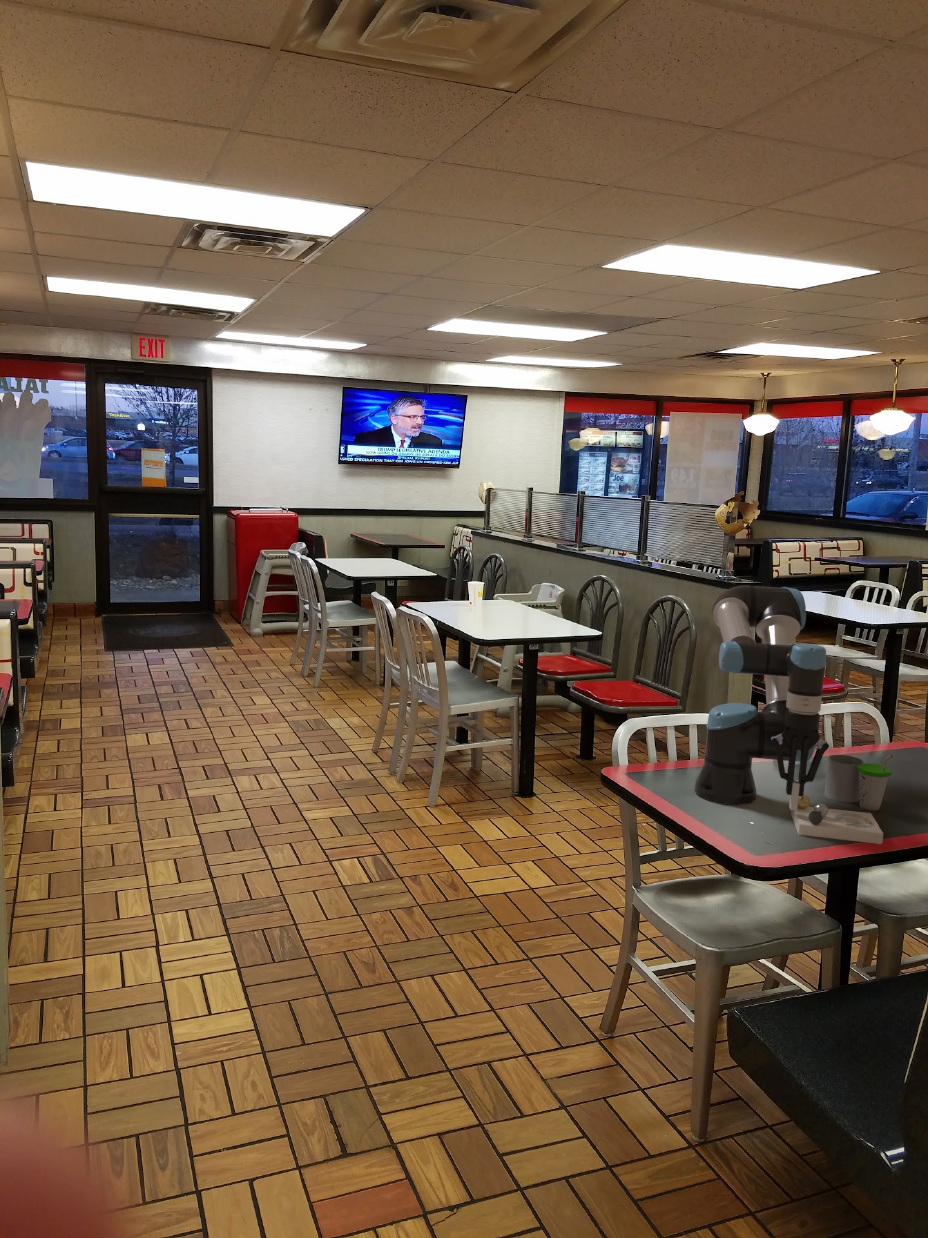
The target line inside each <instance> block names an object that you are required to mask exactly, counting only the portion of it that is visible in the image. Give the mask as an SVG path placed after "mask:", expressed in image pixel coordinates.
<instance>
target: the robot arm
mask: <svg viewBox="0 0 928 1238" xmlns="http://www.w3.org/2000/svg"><path fill="white" fill-rule="evenodd" d="M806 607H807V606H806V600H805V598H804V594H803V593H802V592H801V591H800V590H799V589H797V588H791V587H790V588H789V587H787V586H782V587H775V586H761V585H759V586H758V585H748V584H747V585H746V584H745V585H744V584H743V585H738V586H733V587H730V588H728V589H727V590H725V591H723V592H722V593H721V594H720V595H719V596H718V597H716V599H715V601H714V603H713V606H712V610H711V613H712V619H713V622H714V623H715V625H716V626H717V627H719V630H720V634H721V636H722V637H721V638H722V641H723V642H721V644H720V647H719V653H718V664H719V665H718V666H719V670H721V671H722V672H726V673H733V674H745V675H746V674H749V675H760V676H761V675H762V676H763V675H764V681H765V682H764V684H765V698H766V699H765V700H766V704H765V705H763V706H762V708H761V711H758V709H757V707H756V706H755V705H753V704H750V703H749V704H748V703H744V702H743V703H742V702H741V703H739V702H734V703H733V702H732V703H731V702H730V703H723V704H722V703H721V704H719V705H716V706H714V707H712V708H711V709H710V710H709V713H708V716H707V723H706V736H705V737H706V739H705V748H704V749H705V750H704V759H703V765H702V766H701V767H700V768H701V769H700V771H699V773H698V775H697V778H696V779H695V783H694V792H696V793H695V794H696V795H697V796H699V797H701V798H703V799H705V800H707V801H710V802H714V803H719V804H722V805H723V804H725V805H737V806H738V805H747V804H751V803H753V802H754V801H756V797H757V788H756V784H755V780H754V775H753V770H752V762H753V759H760V760H761V759H763V760H774V761H775V760H776V761H777V767H778V773H779V776H780V778H781V779H782V780H784V781H786V783H785V785H786V787H785V793H786V795H788V796H789V804H788V807H789V810H790V811H791V810H797V806H798V796H803V794H804V792H805V785H806V783H808V782H809V783H810V782H811V783H812V782H813V781H814V779H815V777H816V774H817V771H818V768H819V766H820V764H821V761H822V760H823V759H822V758H823V756H824V754H825V752H826V751H827V750H828V749H829V748H830V745H829V742H828V741H827V740H824V739H822V738H821V735H820V733H819V729H820V728H819V726H820V719H821V718H820V717H821V715H820V712H821V710H822V709H821V707H822V699H823V689H824V679H825V671H826V665H827V650H826V648H825V647H824V646H822V645H819V644H815V643H806V642H805V643H803V642H802V643H801V642H800V643H797V642H796V640H797V639H796V637H797V636H798V635H799V634H800V631H801V630H803V629H804V627H805V625H806V620H807V612H806V611H807V608H806ZM752 628H755V633H756V635H757V636H758V637H759V638H760V639H761V640H762V643H760V642H756V639H755V636H754V634H753V633H754V632H753V630H752ZM816 746H817V748H816ZM815 750H816V751H815ZM812 757H813V758H812ZM811 759H812V761H811V763H810V767H809V769H808V771H807V767H808V762H809V761H810V760H811ZM784 761H785V762H787V763H788V764H787V771H786V770H785V769H786V768H785V764H784ZM796 762H799V770H798V779H794V777H795V769H796ZM804 795H805V794H804Z"/></svg>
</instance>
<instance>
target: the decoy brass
mask: <svg viewBox="0 0 928 1238" xmlns="http://www.w3.org/2000/svg"><path fill="white" fill-rule="evenodd" d="M810 804H811V801H810V798H809V797H808V795H806V794H803V796H798V807H799V808H802V809H804V808H807V807H810Z"/></svg>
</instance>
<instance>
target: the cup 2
mask: <svg viewBox="0 0 928 1238" xmlns="http://www.w3.org/2000/svg"><path fill="white" fill-rule="evenodd" d="M891 758H893V755H892V754H890V755H889V756H887V757H886V758H884V760H883V764H882V765H880V764H875V763H874V764H873V763H864V764H859V765H857V770H858V772H859V801H858V802H859V808H860V809H862V810H865V811H868V812H878V811H880V808H881V806H882V801H883V798H884V795H885V792H886V787H887V784H888V779H889V777H890V776H892V770H891V769H890V768H888V767H886V765H887V761H889V760H890V759H891Z"/></svg>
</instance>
